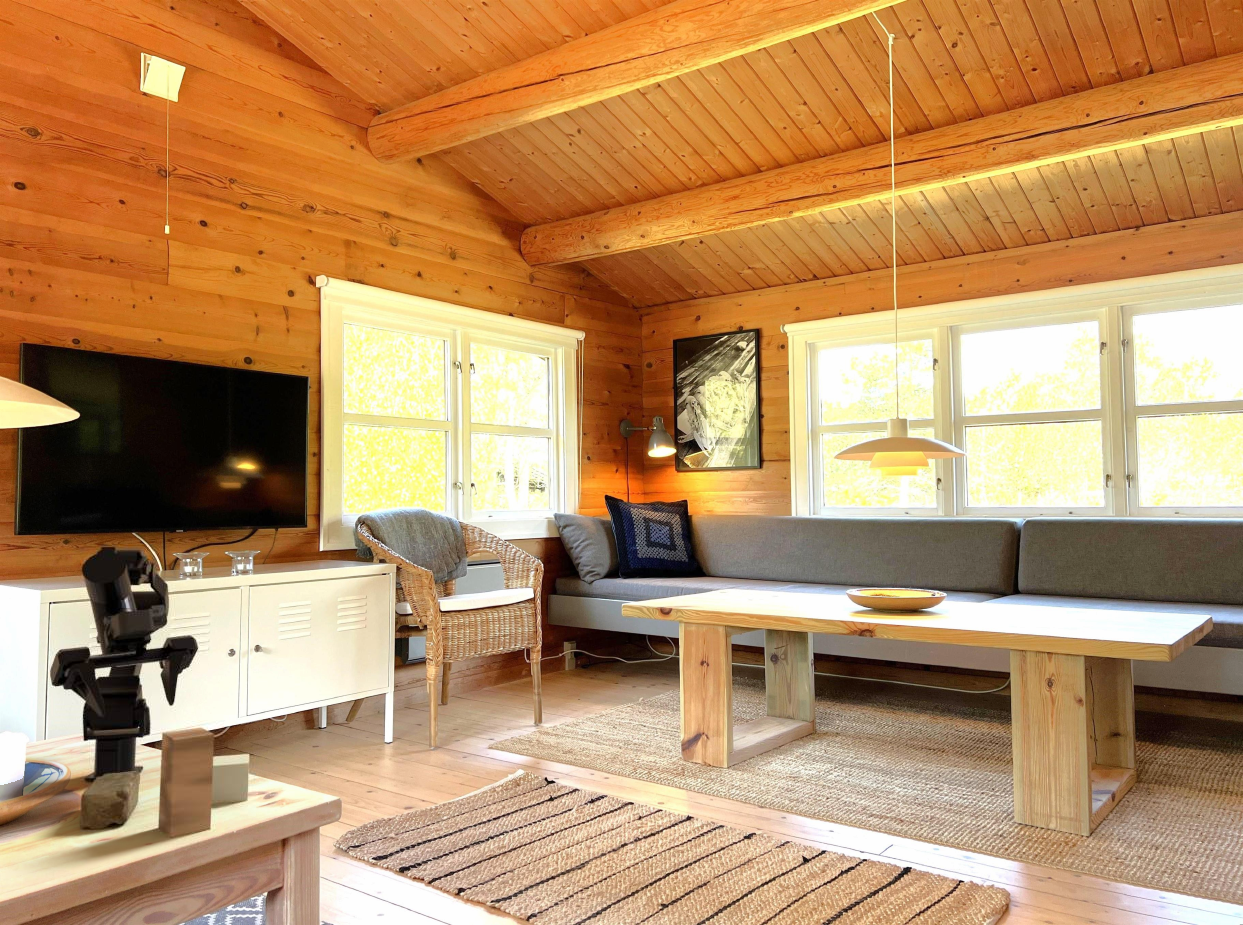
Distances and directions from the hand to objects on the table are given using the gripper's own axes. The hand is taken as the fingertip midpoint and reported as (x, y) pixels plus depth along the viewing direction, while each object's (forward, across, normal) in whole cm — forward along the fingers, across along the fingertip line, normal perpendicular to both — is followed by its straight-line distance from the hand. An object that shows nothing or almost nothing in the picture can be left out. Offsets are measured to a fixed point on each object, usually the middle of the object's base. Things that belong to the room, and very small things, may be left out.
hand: (138, 709), depth 133 cm
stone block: (+12, -4, +8) cm, 15 cm away
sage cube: (+13, +11, +6) cm, 19 cm away
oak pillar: (+19, +2, -1) cm, 20 cm away
